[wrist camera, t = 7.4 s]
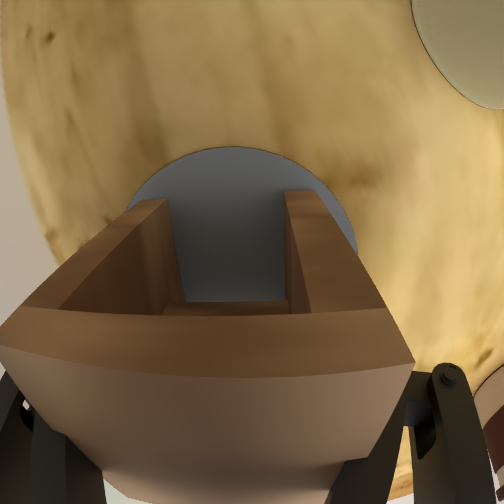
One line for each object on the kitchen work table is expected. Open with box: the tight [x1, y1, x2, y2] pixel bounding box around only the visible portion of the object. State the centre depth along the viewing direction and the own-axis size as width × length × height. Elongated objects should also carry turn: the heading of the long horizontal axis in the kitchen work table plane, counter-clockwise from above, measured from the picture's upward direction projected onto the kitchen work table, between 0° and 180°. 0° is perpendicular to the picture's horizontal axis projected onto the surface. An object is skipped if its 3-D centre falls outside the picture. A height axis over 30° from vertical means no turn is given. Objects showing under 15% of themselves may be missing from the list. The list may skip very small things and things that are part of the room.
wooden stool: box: [0, 190, 416, 504], centre depth 10 cm, size 8×9×10 cm
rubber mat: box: [126, 147, 358, 302], centre depth 16 cm, size 13×13×1 cm
